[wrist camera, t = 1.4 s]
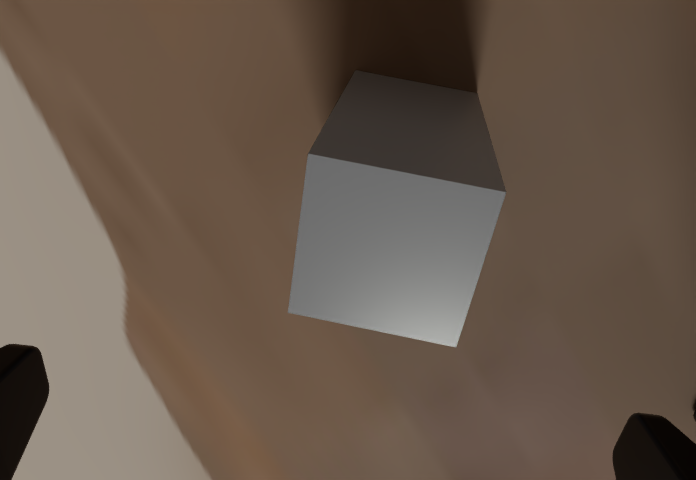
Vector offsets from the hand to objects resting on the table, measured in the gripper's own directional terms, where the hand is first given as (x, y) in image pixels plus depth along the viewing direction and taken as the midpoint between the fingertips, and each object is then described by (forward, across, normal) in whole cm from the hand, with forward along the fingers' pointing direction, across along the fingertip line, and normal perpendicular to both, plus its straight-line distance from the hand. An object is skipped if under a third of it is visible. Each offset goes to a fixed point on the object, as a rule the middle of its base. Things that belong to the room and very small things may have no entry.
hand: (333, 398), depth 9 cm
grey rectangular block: (+12, -1, 0) cm, 12 cm away
